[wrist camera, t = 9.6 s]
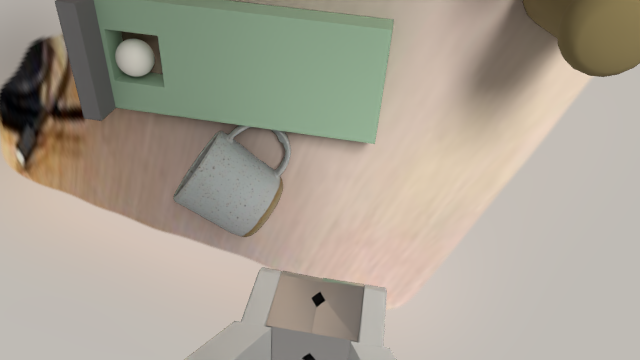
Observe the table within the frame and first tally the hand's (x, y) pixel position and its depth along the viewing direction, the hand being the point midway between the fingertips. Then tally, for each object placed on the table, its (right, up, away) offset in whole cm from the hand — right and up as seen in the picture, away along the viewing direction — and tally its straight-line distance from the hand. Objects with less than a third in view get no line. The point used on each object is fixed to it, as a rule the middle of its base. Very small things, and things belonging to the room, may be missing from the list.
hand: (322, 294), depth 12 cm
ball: (-16, +14, +32) cm, 38 cm away
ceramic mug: (-7, +5, +37) cm, 38 cm away
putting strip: (-7, +13, +31) cm, 34 cm away
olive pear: (+18, +17, +23) cm, 34 cm away
